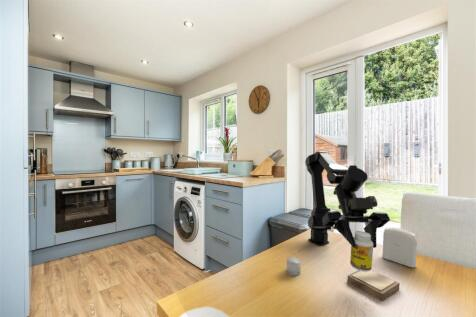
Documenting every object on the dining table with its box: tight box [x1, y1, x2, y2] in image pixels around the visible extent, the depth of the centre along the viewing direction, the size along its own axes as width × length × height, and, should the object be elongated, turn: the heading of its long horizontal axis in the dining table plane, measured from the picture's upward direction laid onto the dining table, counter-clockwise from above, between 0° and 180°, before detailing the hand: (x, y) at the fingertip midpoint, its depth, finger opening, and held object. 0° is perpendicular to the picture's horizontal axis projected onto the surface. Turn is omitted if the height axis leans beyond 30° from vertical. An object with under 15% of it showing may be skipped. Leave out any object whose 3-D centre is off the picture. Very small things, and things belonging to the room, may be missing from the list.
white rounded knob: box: [286, 257, 302, 277], centre depth 73 cm, size 4×4×4 cm
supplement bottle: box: [349, 230, 374, 272], centre depth 65 cm, size 6×6×10 cm
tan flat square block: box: [346, 269, 400, 302], centre depth 67 cm, size 10×10×2 cm
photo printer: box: [382, 226, 418, 269], centre depth 82 cm, size 10×4×12 cm, turn 39°
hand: (364, 247), depth 63 cm, fingers closed on supplement bottle, 6 cm apart
